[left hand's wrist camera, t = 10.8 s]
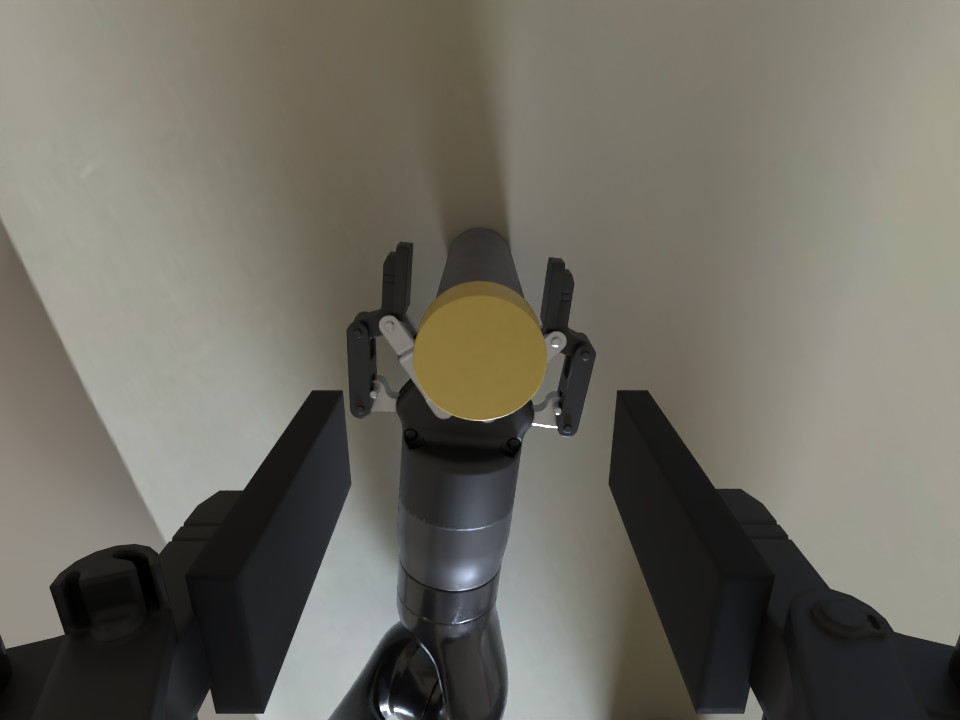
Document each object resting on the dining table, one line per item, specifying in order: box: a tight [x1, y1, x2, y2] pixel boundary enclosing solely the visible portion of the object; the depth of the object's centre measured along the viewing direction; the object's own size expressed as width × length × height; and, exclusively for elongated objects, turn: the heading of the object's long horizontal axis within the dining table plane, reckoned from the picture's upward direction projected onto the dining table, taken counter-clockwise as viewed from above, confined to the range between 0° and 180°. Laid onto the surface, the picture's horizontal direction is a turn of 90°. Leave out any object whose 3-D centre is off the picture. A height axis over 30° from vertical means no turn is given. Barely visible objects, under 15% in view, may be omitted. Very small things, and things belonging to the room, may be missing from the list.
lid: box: [413, 281, 547, 421], centre depth 21 cm, size 5×5×2 cm
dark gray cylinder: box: [436, 228, 524, 298], centre depth 29 cm, size 4×4×19 cm
